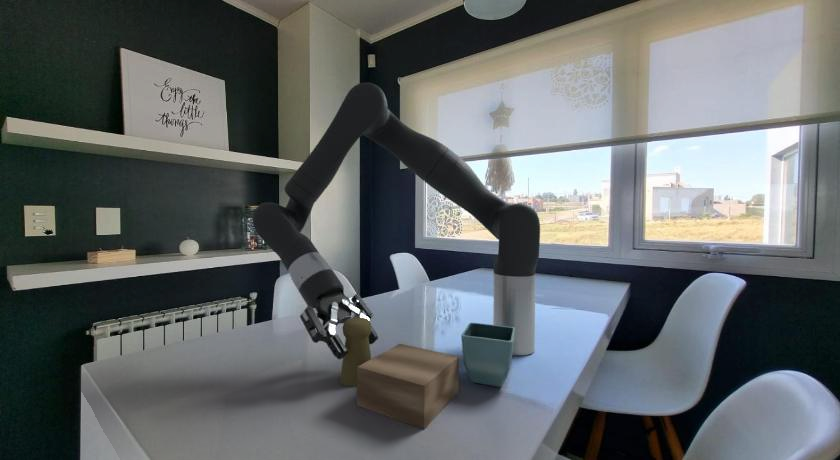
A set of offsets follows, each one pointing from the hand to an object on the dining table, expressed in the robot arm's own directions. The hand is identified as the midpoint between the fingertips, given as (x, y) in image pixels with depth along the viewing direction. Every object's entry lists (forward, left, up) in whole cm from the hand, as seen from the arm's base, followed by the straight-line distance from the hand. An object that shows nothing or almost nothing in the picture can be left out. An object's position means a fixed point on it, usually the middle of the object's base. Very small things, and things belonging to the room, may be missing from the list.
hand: (360, 348), depth 60 cm
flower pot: (-12, +20, -6) cm, 24 cm away
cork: (0, -1, -6) cm, 6 cm away
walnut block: (+1, +11, -6) cm, 13 cm away
